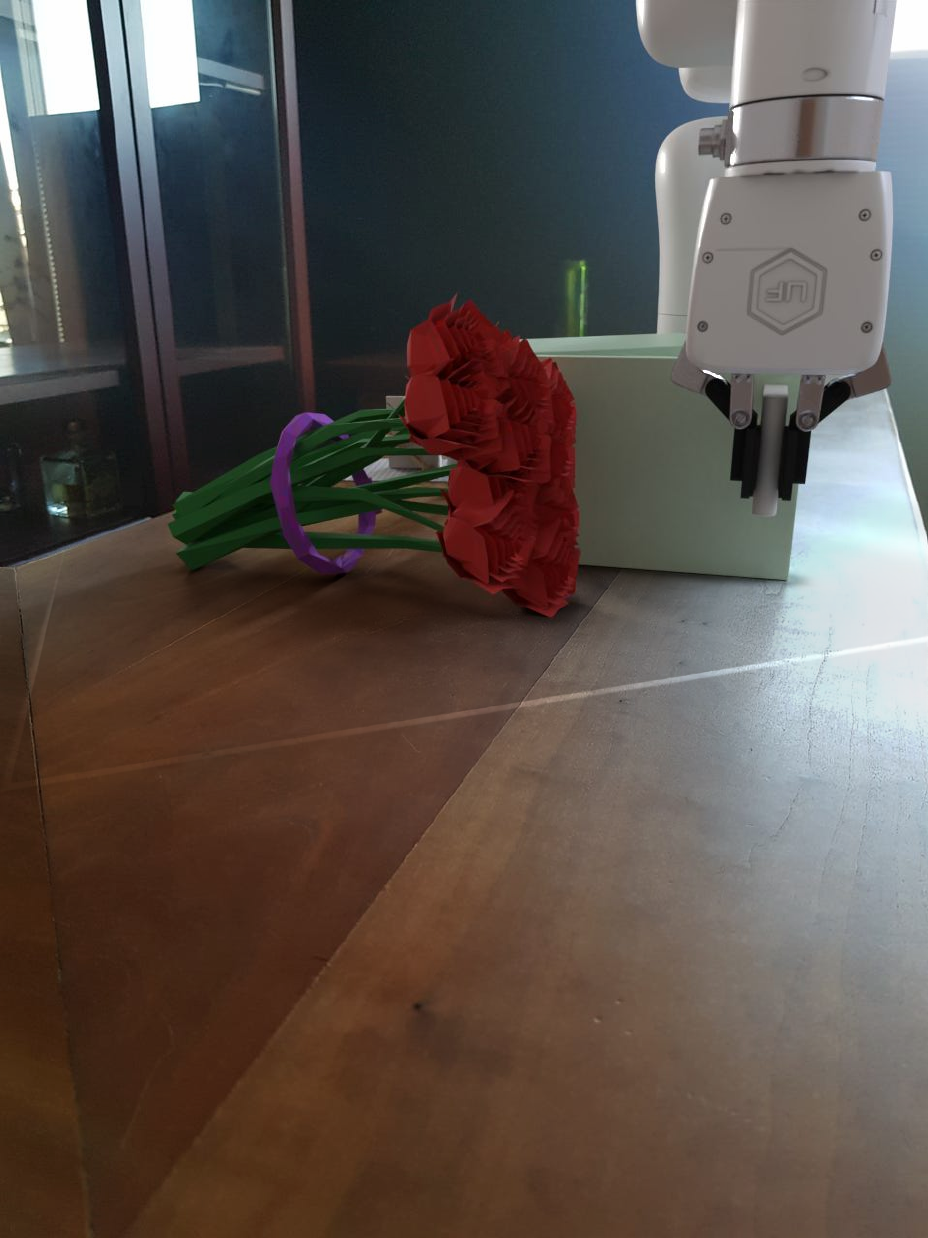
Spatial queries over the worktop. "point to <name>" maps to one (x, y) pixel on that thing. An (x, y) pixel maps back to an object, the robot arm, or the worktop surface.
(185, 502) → the bouquet
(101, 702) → the worktop surface
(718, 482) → the door
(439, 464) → the architectural model
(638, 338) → the cupboard
